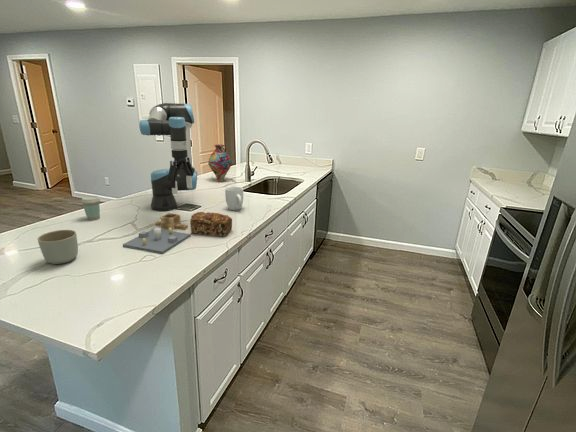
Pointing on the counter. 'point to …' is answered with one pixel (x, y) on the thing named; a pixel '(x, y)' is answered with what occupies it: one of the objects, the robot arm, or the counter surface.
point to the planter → (59, 246)
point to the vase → (220, 163)
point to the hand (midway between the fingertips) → (182, 190)
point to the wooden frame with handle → (171, 222)
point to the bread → (211, 224)
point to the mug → (234, 197)
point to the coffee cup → (91, 207)
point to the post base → (157, 240)
